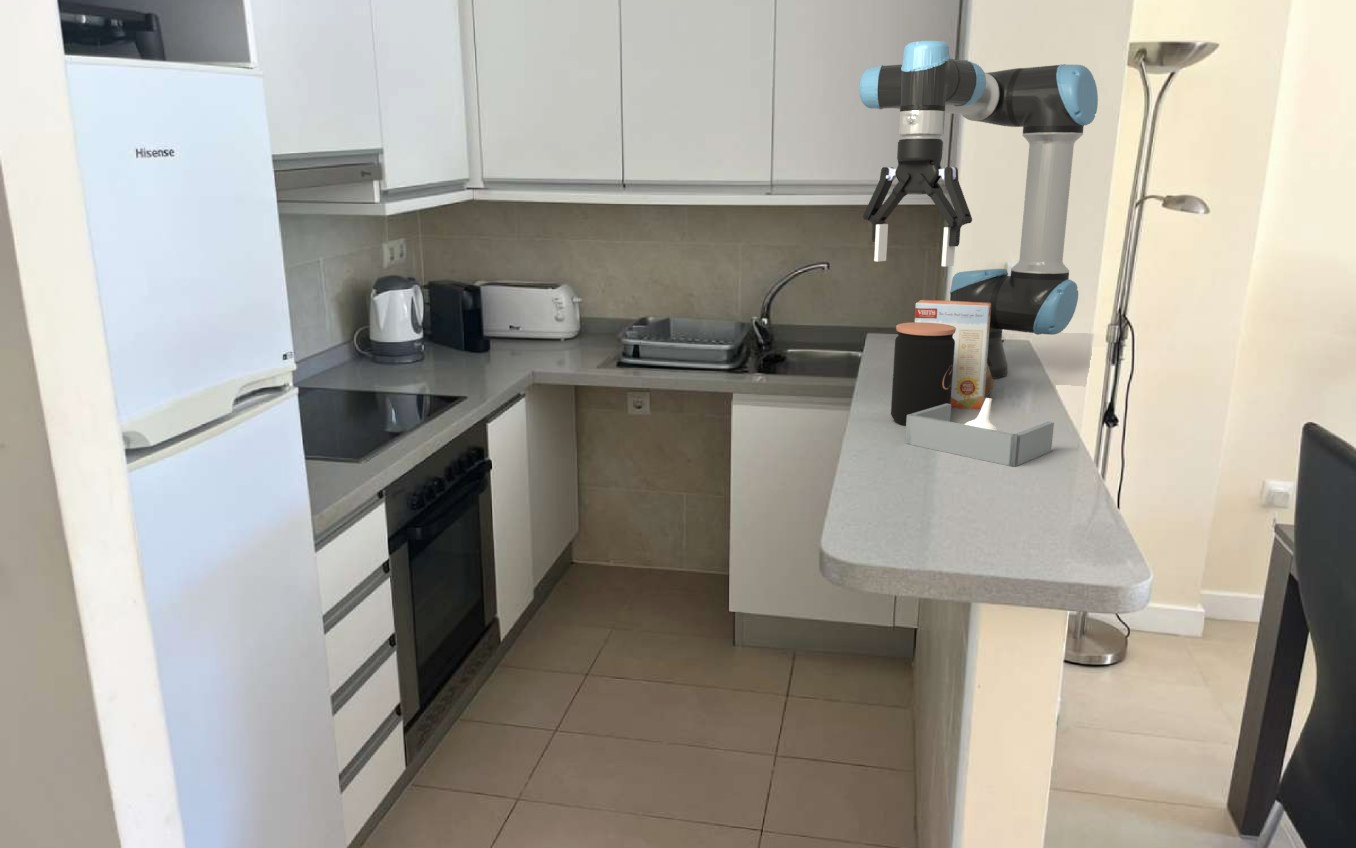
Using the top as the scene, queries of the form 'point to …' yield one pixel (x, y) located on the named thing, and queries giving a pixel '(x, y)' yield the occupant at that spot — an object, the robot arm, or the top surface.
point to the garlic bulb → (983, 417)
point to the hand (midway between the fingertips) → (912, 263)
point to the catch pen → (976, 438)
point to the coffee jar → (921, 368)
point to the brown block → (988, 382)
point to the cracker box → (963, 345)
